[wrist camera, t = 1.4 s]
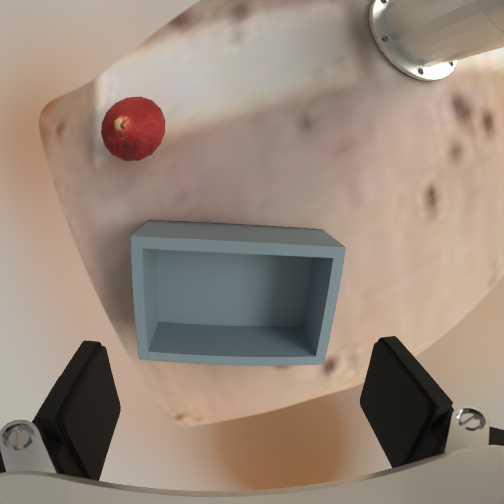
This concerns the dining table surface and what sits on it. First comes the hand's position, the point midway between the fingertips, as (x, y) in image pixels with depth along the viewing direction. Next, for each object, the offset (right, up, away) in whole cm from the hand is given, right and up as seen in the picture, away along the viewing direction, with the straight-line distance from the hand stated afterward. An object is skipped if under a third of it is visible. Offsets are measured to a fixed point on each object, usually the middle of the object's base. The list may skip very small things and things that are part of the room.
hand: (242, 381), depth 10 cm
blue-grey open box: (-2, +1, +24) cm, 24 cm away
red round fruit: (-10, +16, +19) cm, 27 cm away
